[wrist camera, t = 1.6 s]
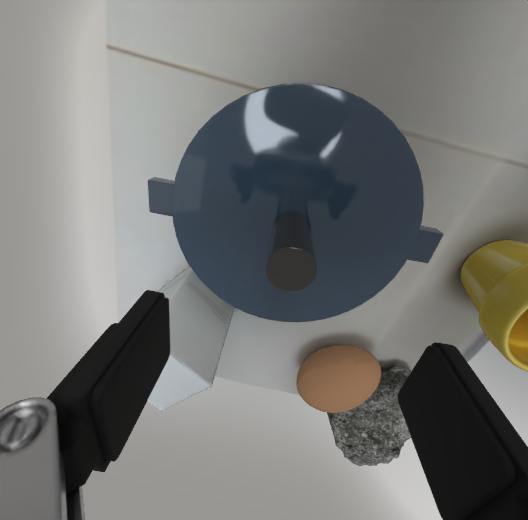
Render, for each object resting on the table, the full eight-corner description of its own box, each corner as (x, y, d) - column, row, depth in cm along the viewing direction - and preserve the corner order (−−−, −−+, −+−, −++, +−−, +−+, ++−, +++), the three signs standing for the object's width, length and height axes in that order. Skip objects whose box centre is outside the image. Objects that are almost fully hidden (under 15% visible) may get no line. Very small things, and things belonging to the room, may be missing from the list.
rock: (406, 365, 33) (423, 371, 40) (315, 363, 41) (343, 369, 48) (425, 496, 28) (442, 477, 35) (316, 466, 35) (347, 456, 42)
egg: (315, 431, 34) (401, 409, 31) (288, 406, 30) (381, 378, 27) (307, 376, 40) (377, 353, 37) (283, 349, 37) (359, 321, 33)
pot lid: (177, 60, 15) (104, 27, 9) (467, 112, 15) (578, 112, 9) (178, 294, 23) (140, 354, 17) (366, 329, 23) (390, 400, 17)
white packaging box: (159, 287, 34) (96, 370, 23) (198, 258, 32) (147, 335, 21) (199, 323, 37) (159, 414, 26) (239, 299, 34) (213, 388, 23)
